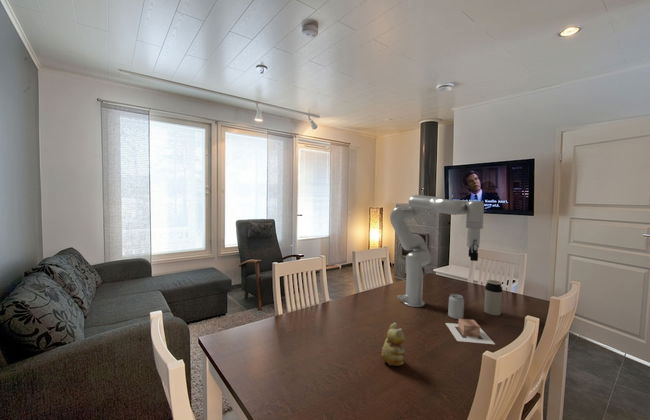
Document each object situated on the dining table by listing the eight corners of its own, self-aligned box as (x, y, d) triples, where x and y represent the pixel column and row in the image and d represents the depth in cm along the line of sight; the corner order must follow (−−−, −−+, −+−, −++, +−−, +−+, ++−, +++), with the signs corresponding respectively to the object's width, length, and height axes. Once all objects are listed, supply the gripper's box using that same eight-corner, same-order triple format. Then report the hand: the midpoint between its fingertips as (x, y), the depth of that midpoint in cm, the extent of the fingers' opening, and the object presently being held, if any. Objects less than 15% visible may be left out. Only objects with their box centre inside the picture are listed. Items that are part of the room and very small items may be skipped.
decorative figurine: (408, 368, 105) (409, 329, 104) (388, 372, 102) (390, 332, 101) (394, 354, 114) (396, 318, 113) (376, 357, 111) (377, 320, 111)
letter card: (457, 341, 125) (457, 340, 125) (445, 323, 143) (445, 322, 143) (495, 345, 123) (495, 344, 123) (478, 326, 141) (478, 325, 141)
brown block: (463, 335, 130) (463, 325, 130) (458, 328, 137) (458, 318, 137) (479, 337, 129) (479, 326, 129) (473, 329, 136) (473, 319, 136)
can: (445, 314, 154) (446, 293, 154) (458, 314, 155) (459, 293, 154) (452, 320, 147) (453, 298, 146) (466, 320, 147) (467, 298, 147)
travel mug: (502, 317, 153) (504, 284, 152) (485, 314, 156) (487, 282, 155) (498, 311, 160) (500, 280, 159) (482, 309, 163) (484, 278, 162)
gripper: (464, 223, 151) (463, 254, 152) (467, 226, 135) (466, 261, 136) (480, 224, 149) (479, 256, 149) (485, 227, 133) (483, 263, 133)
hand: (472, 258), depth 143 cm, fingers open, 9 cm apart
